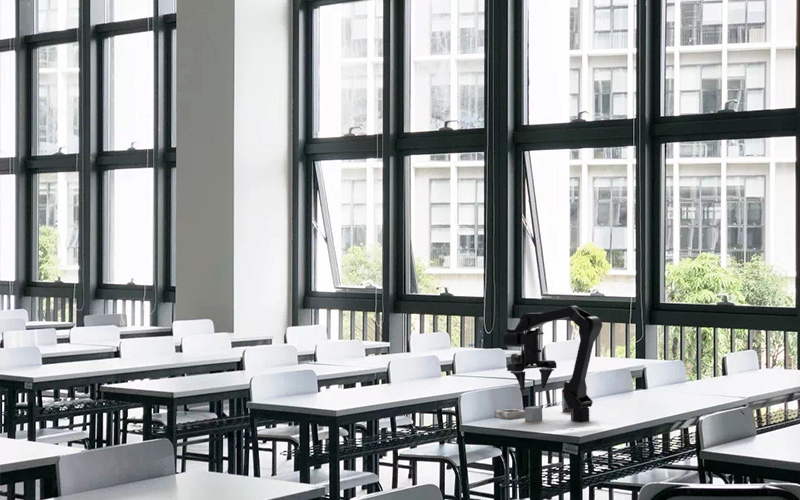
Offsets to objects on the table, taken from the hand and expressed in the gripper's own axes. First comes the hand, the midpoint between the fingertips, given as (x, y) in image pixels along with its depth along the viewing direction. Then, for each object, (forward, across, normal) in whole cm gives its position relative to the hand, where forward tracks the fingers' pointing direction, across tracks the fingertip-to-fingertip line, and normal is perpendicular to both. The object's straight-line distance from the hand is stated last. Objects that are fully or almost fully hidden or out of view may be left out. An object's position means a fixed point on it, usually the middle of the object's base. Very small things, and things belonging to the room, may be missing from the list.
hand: (533, 389), depth 393 cm
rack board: (+12, +6, -4) cm, 14 cm away
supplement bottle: (+12, -26, -13) cm, 32 cm away
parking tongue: (+12, +7, +9) cm, 16 cm away
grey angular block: (+10, +7, +9) cm, 15 cm away
